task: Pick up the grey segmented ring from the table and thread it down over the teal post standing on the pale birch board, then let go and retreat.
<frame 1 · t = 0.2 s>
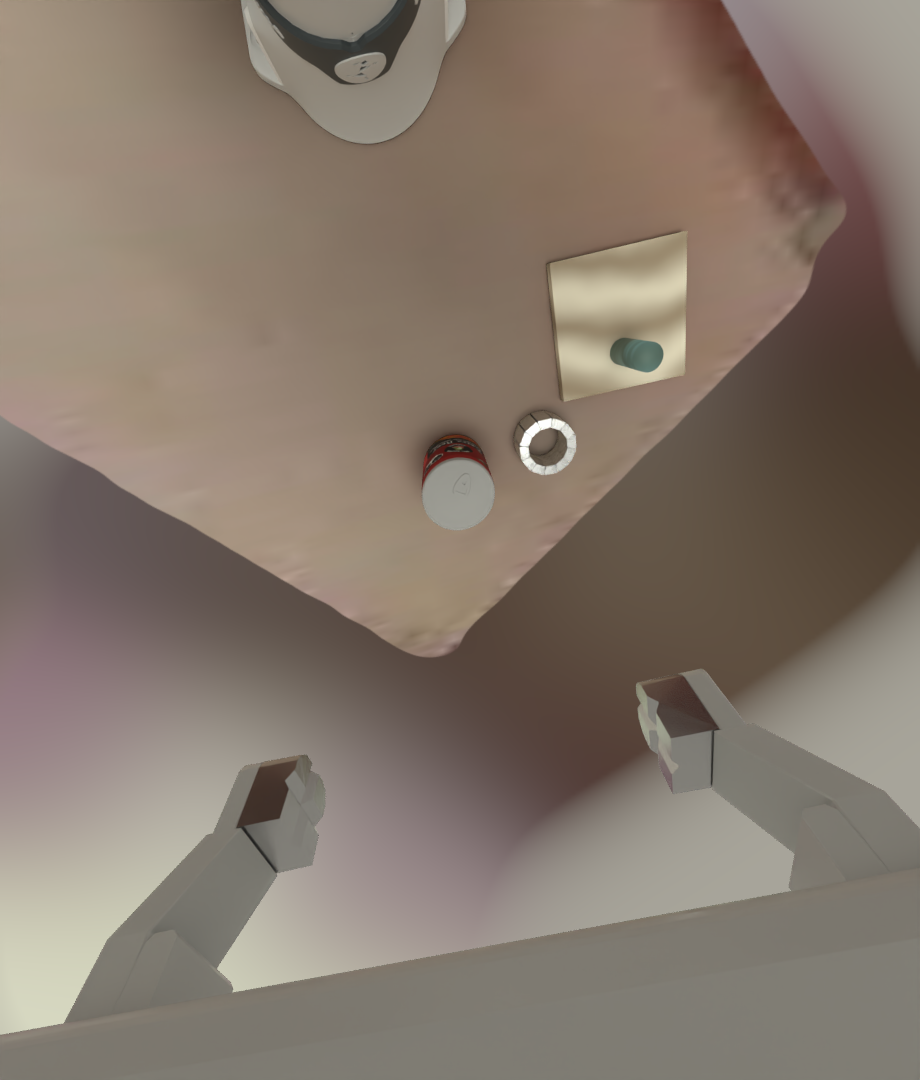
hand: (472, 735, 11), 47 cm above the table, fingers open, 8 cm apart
piston stand: (616, 321, 50), on the table
canned food: (454, 464, 57), on the table
grey segmented ring: (539, 437, 56), on the table
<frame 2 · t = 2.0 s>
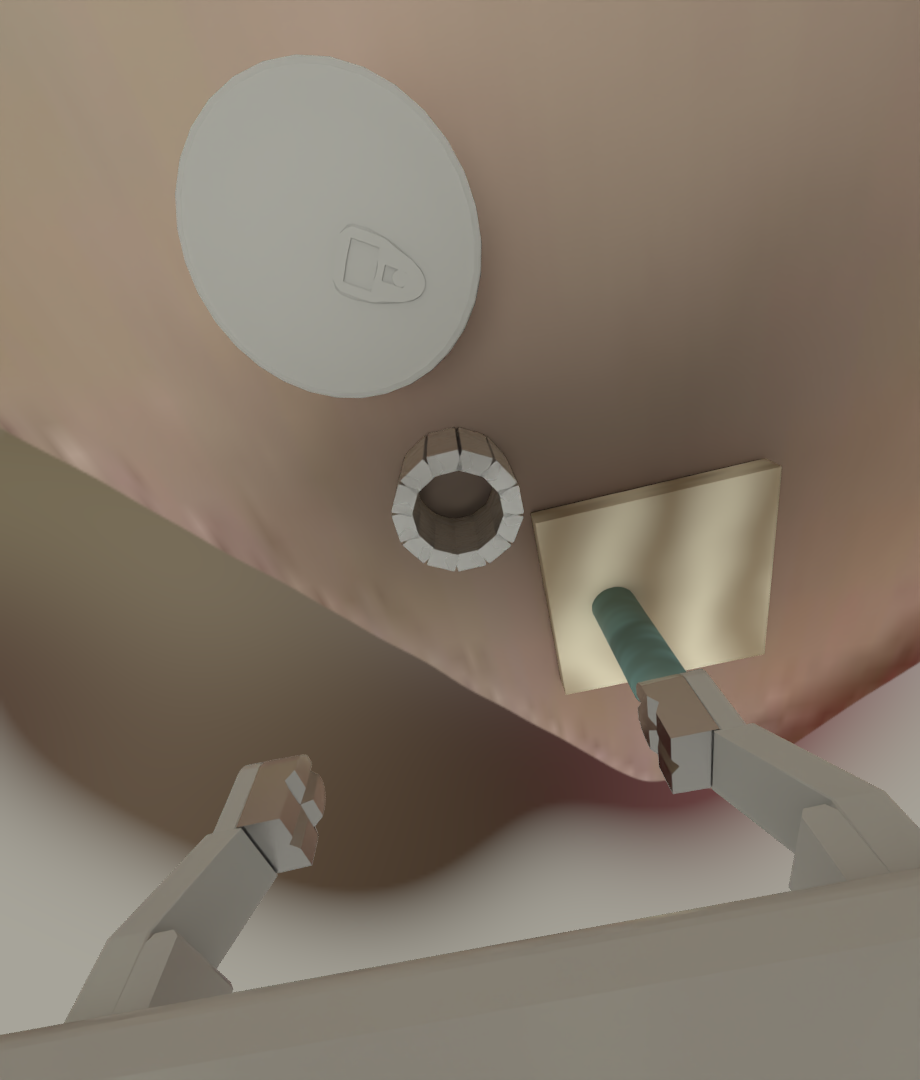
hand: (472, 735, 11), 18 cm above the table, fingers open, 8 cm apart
piston stand: (650, 582, 30), on the table
canned food: (380, 276, 22), on the table
grey segmented ring: (455, 483, 27), on the table
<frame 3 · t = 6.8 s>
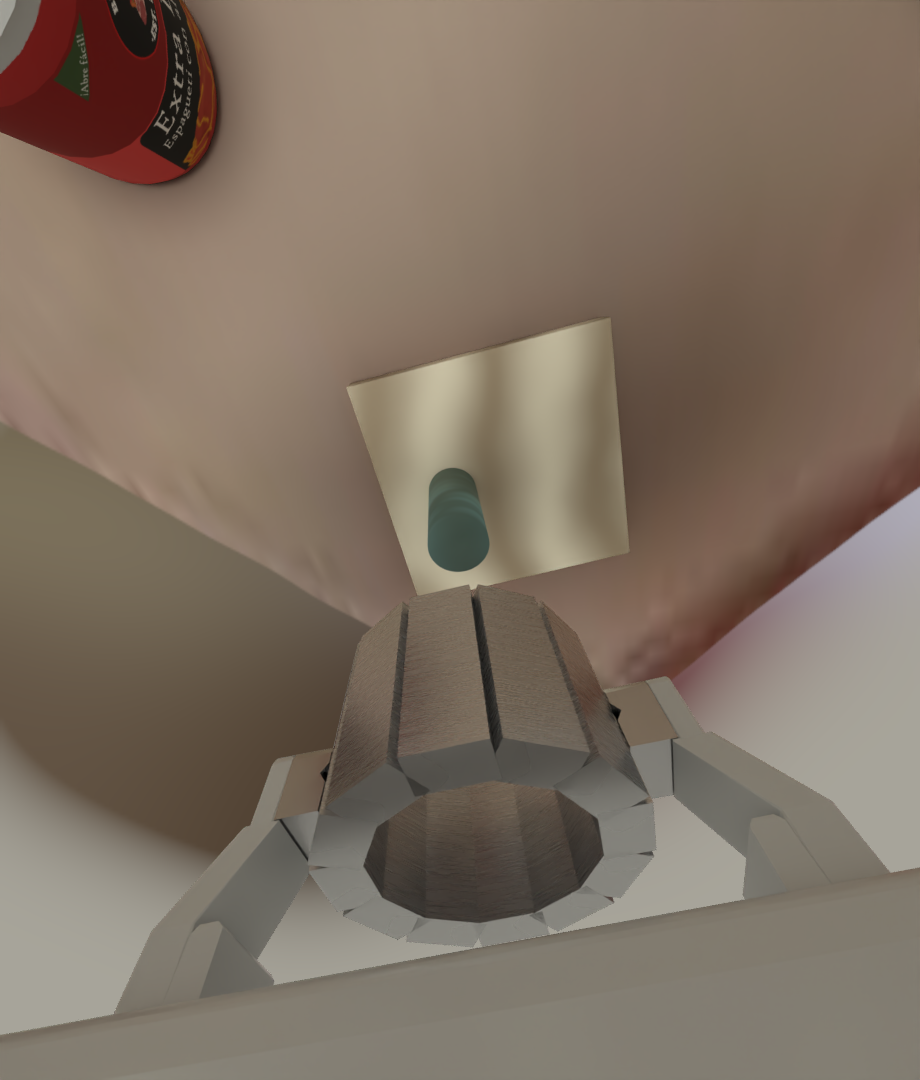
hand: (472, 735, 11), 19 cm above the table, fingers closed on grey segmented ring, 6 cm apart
piston stand: (499, 470, 28), on the table
canned food: (128, 79, 19), on the table
grey segmented ring: (468, 685, 13), point 17 cm above the table, touching gripper
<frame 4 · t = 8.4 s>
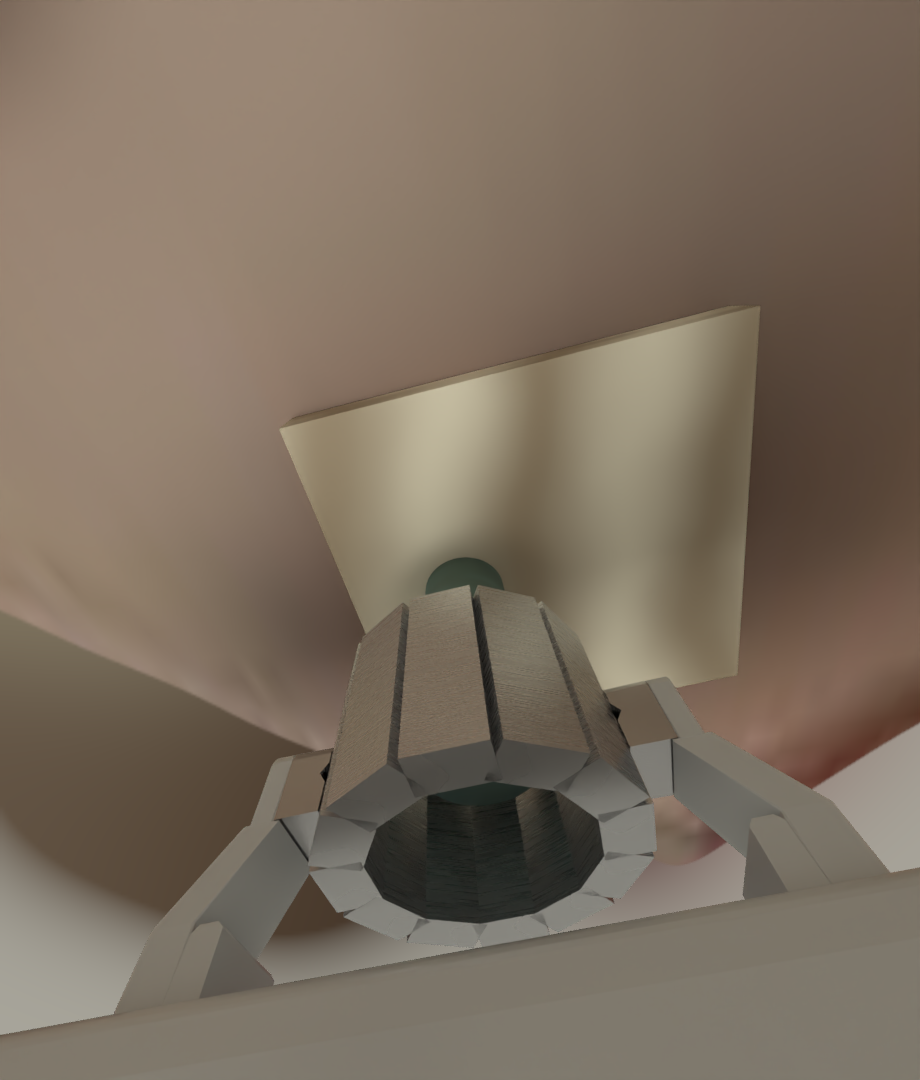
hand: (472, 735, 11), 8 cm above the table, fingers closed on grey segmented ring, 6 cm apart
piston stand: (538, 552, 17), on the table
grey segmented ring: (468, 685, 13), point 6 cm above the table, touching gripper
when the fingers open (6 cm above the table, at t = 9.6 s): grey segmented ring drops 3 cm, resting on piston stand.
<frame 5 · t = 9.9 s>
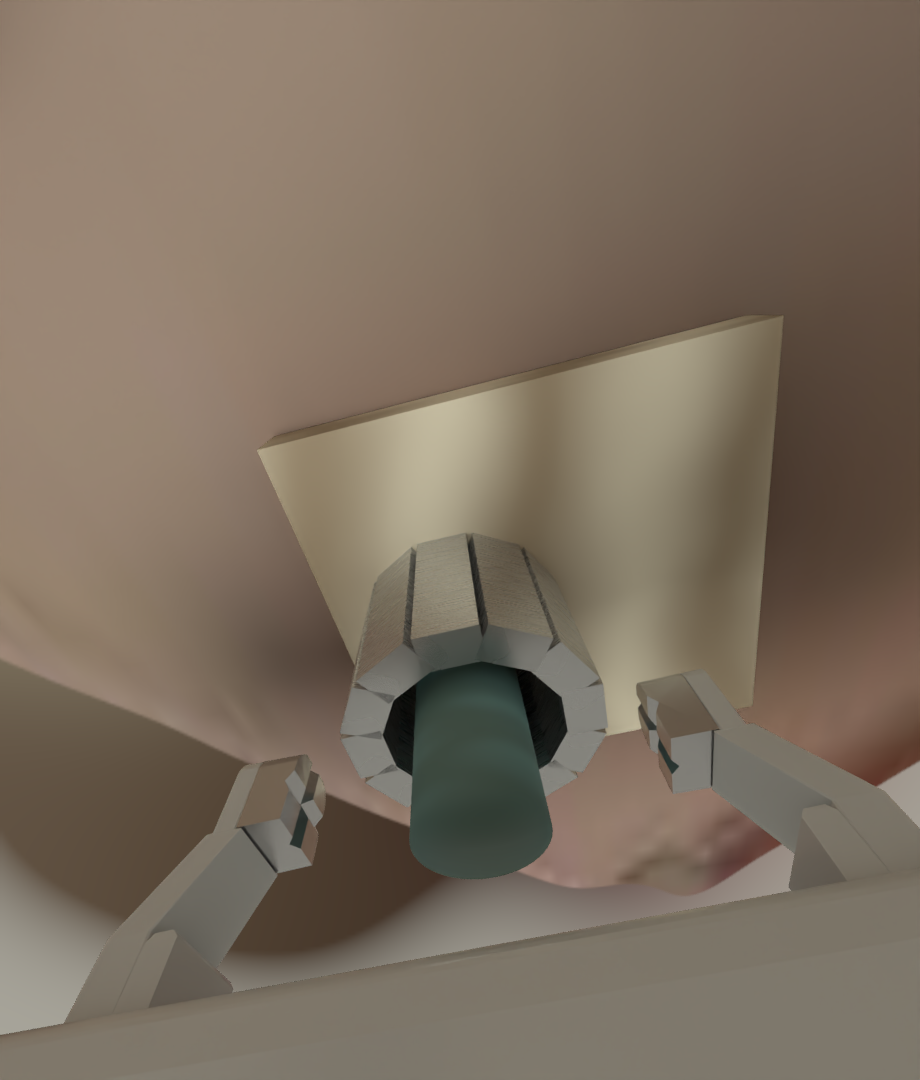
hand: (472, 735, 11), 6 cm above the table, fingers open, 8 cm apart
piston stand: (540, 577, 16), on the table
grey segmented ring: (464, 621, 15), point 1 cm above the table, touching piston stand
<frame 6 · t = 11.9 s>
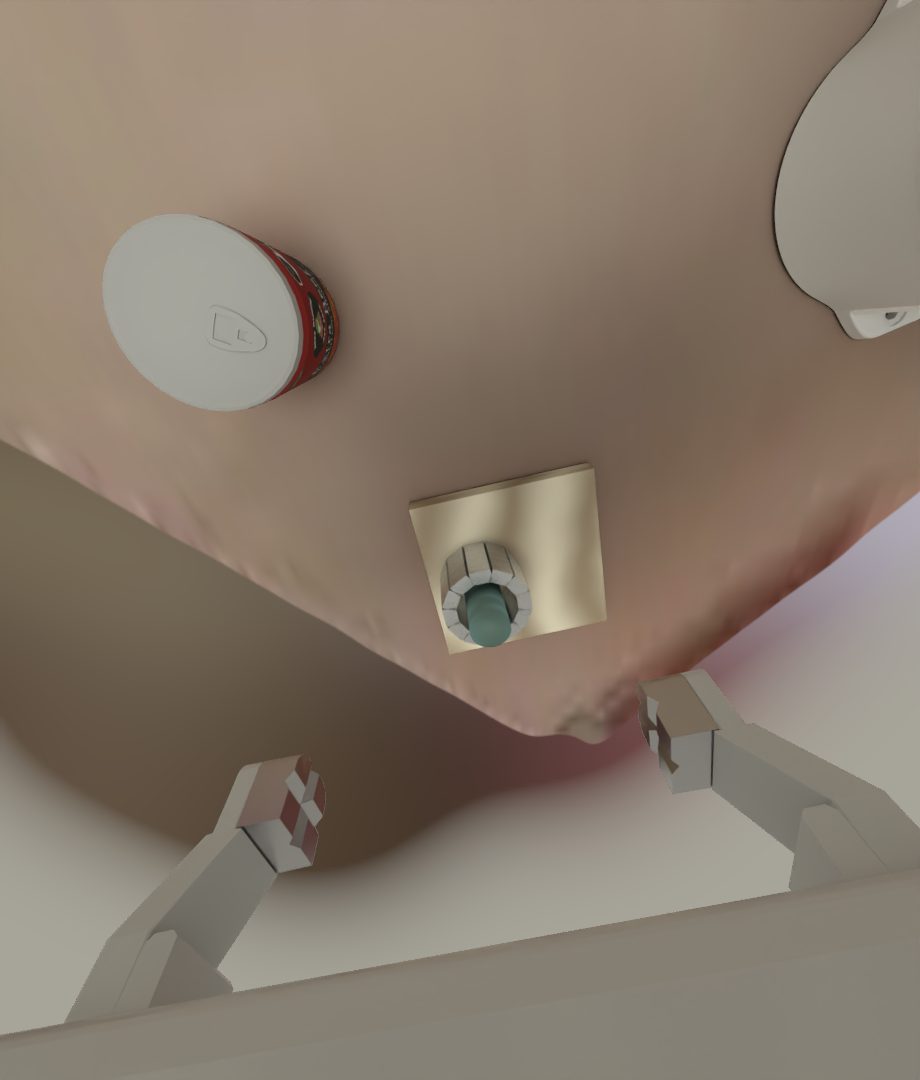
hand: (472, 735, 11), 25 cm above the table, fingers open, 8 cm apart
piston stand: (512, 560, 38), on the table
canned food: (278, 321, 29), on the table
grey segmented ring: (480, 577, 37), point 1 cm above the table, touching piston stand
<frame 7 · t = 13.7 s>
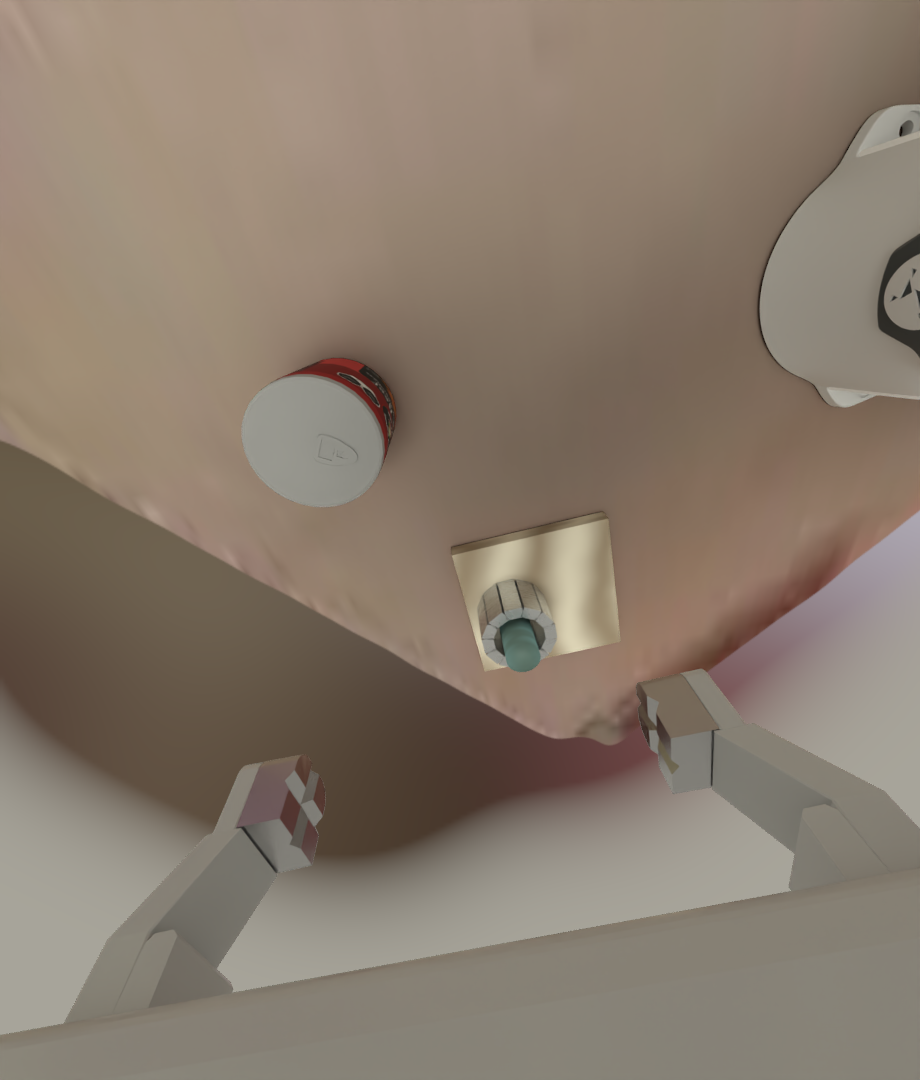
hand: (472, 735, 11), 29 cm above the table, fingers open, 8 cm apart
piston stand: (538, 592, 44), on the table
canned food: (346, 408, 36), on the table
grey segmented ring: (511, 608, 43), point 1 cm above the table, touching piston stand
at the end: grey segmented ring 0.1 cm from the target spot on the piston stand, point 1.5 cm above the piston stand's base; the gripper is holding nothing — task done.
